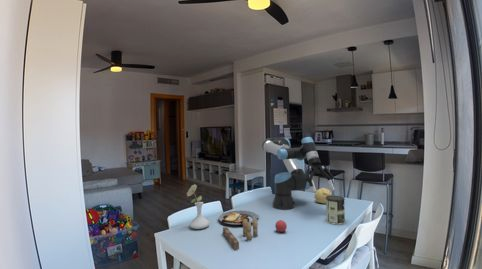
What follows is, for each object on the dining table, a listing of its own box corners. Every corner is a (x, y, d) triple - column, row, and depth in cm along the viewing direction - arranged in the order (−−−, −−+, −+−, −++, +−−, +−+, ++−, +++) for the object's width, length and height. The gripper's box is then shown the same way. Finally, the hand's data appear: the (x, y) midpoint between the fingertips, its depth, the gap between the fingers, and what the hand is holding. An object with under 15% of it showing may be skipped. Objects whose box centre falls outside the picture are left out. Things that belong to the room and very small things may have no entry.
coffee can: (343, 218, 153) (342, 195, 153) (346, 225, 143) (346, 200, 143) (325, 217, 155) (324, 194, 155) (327, 224, 145) (327, 199, 145)
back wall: (222, 233, 135) (222, 227, 135) (226, 232, 136) (226, 226, 136) (234, 250, 117) (234, 242, 117) (239, 249, 117) (238, 241, 117)
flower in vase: (201, 221, 154) (200, 180, 153) (213, 226, 146) (212, 183, 145) (183, 228, 144) (181, 184, 144) (194, 233, 136) (193, 187, 136)
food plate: (250, 229, 140) (250, 223, 140) (212, 225, 148) (212, 219, 148) (262, 216, 163) (262, 210, 163) (229, 213, 171) (228, 207, 171)
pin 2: (245, 239, 128) (245, 222, 128) (250, 238, 129) (250, 221, 128) (247, 241, 126) (247, 224, 125) (252, 240, 126) (251, 223, 126)
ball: (273, 230, 138) (273, 219, 138) (283, 228, 140) (283, 217, 140) (278, 234, 132) (278, 223, 132) (288, 232, 134) (288, 221, 134)
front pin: (252, 235, 132) (251, 219, 132) (256, 235, 133) (256, 218, 132) (254, 237, 129) (253, 221, 129) (258, 236, 130) (258, 220, 130)
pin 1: (242, 235, 133) (242, 219, 132) (246, 234, 133) (246, 218, 133) (244, 237, 130) (243, 220, 130) (248, 236, 131) (248, 220, 131)
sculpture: (331, 205, 179) (330, 190, 179) (313, 203, 184) (313, 189, 184) (332, 201, 189) (332, 186, 189) (316, 199, 194) (315, 185, 194)
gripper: (299, 156, 157) (309, 189, 147) (332, 156, 166) (343, 187, 156) (294, 162, 163) (303, 194, 153) (325, 161, 172) (336, 191, 162)
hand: (323, 190), depth 155 cm, fingers open, 13 cm apart
